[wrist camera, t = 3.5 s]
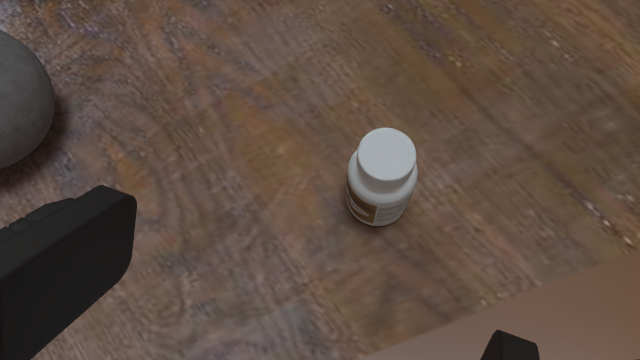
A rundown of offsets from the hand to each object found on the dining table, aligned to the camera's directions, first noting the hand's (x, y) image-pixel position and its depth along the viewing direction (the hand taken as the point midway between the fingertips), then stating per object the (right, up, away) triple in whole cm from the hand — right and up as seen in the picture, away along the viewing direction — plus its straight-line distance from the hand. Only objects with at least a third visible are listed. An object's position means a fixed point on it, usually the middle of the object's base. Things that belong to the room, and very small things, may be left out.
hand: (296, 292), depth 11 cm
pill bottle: (+5, +1, +27) cm, 27 cm away
